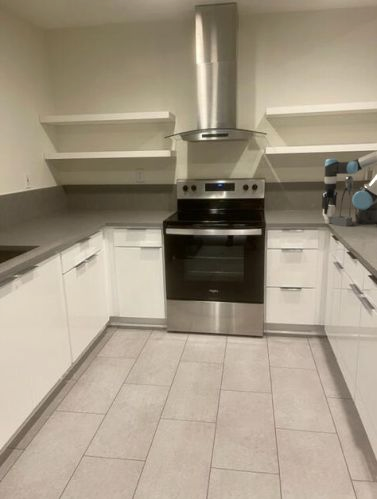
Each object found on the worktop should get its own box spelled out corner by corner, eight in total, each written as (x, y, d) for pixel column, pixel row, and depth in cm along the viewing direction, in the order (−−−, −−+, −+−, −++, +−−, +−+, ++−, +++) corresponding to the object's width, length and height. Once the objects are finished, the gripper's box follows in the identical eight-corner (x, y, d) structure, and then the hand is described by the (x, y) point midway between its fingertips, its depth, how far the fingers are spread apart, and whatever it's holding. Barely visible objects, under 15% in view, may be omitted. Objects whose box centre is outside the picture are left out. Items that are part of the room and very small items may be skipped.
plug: (326, 222, 257) (327, 204, 255) (334, 223, 253) (335, 205, 250) (322, 222, 255) (323, 205, 252) (330, 223, 250) (331, 206, 247)
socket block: (337, 223, 251) (338, 215, 250) (351, 225, 243) (352, 217, 242) (332, 224, 248) (332, 216, 247) (345, 226, 240) (346, 218, 239)
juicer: (356, 221, 254) (357, 175, 247) (338, 221, 259) (339, 176, 253) (358, 219, 262) (359, 174, 255) (341, 219, 267) (342, 175, 261)
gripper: (333, 182, 255) (331, 216, 261) (316, 183, 246) (315, 219, 251) (343, 182, 249) (341, 217, 255) (327, 184, 240) (325, 220, 245)
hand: (328, 218), depth 253 cm, fingers closed on plug, 4 cm apart
